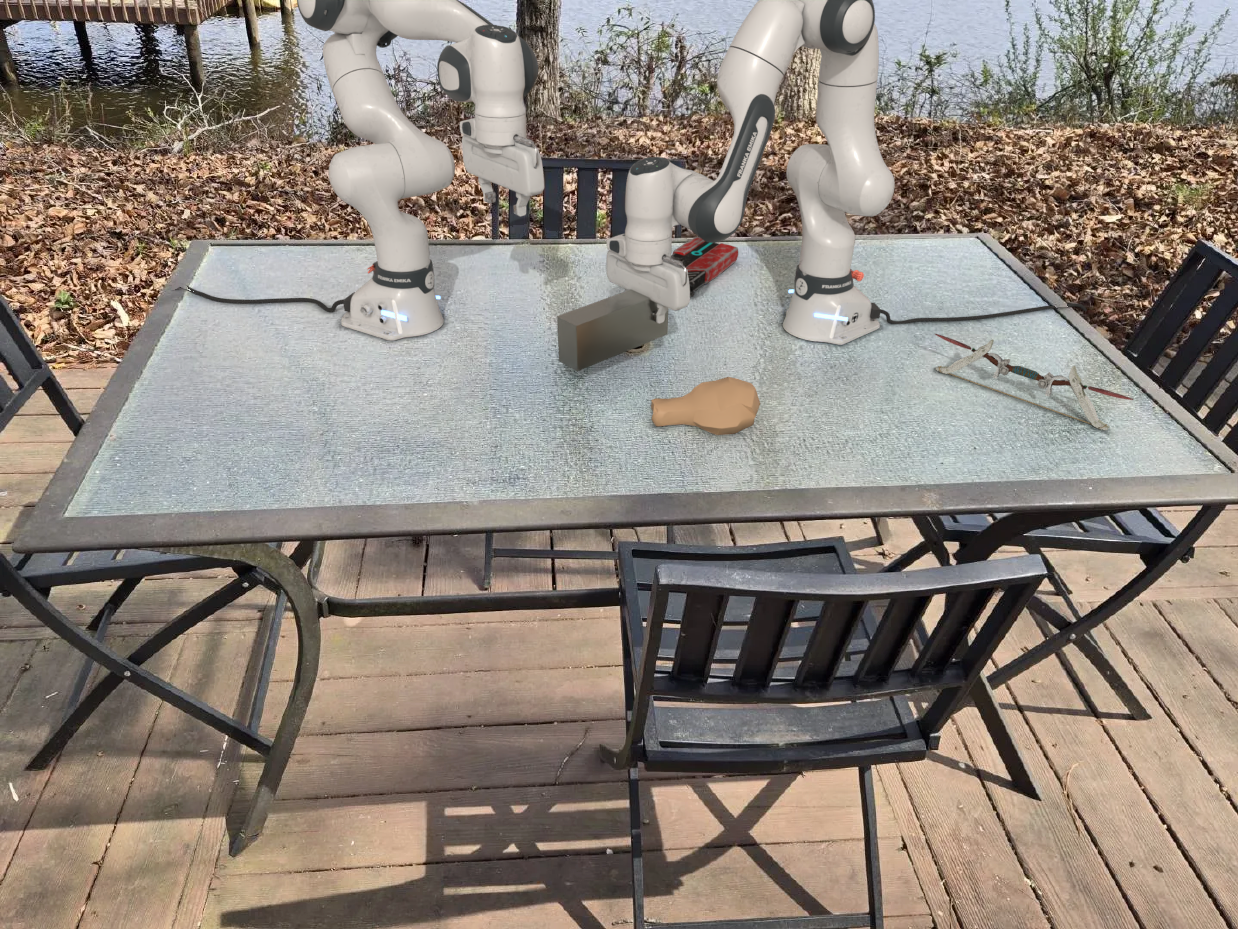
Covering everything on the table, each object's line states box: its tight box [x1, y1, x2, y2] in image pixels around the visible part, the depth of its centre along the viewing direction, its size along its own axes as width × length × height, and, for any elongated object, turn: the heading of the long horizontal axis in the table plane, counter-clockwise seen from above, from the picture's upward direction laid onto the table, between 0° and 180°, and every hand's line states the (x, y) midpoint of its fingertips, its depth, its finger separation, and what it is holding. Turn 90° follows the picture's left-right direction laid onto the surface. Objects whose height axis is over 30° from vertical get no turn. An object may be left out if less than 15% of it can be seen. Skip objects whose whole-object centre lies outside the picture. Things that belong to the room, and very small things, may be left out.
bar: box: [556, 290, 670, 372], centre depth 168 cm, size 23×6×9 cm, turn 132°
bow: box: [934, 333, 1135, 431], centre depth 171 cm, size 39×2×10 cm, turn 47°
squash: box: [650, 376, 761, 436], centre depth 160 cm, size 11×20×9 cm, turn 90°
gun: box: [671, 236, 739, 298], centre depth 223 cm, size 4×31×19 cm
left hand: (504, 208), depth 161 cm, fingers open, 8 cm apart
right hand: (646, 315), depth 173 cm, fingers closed on bar, 5 cm apart
